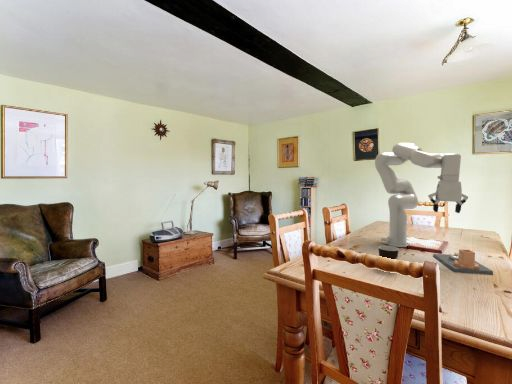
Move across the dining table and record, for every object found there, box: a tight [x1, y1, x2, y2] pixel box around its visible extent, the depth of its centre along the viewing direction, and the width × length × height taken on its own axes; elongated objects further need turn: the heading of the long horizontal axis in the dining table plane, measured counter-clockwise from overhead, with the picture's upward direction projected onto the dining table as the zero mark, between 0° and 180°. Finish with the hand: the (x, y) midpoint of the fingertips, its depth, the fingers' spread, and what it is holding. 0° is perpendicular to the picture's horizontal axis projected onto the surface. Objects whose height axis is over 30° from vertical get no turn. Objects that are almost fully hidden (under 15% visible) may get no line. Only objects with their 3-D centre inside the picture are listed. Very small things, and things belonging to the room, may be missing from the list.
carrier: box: [432, 252, 494, 276], centre depth 131 cm, size 15×23×7 cm, turn 167°
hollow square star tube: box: [454, 248, 480, 269], centre depth 126 cm, size 10×10×7 cm
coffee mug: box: [378, 245, 400, 260], centre depth 127 cm, size 12×9×10 cm
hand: (446, 212), depth 136 cm, fingers open, 9 cm apart
